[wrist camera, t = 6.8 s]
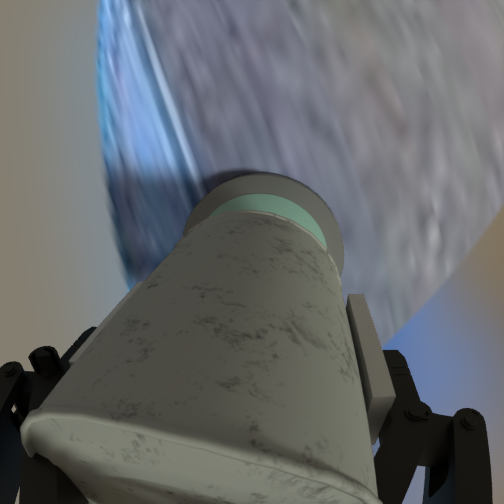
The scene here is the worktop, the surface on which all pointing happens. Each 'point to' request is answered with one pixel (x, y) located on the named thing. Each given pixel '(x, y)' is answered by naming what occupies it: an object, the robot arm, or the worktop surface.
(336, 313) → the grey marble cylinder
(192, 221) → the pad
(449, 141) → the worktop surface
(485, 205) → the worktop surface
